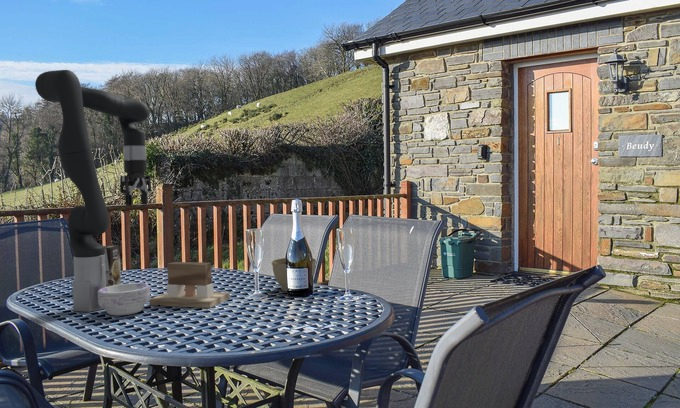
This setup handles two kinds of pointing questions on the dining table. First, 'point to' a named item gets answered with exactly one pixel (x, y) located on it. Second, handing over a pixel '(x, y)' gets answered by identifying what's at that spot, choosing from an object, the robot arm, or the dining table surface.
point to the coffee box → (112, 265)
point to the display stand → (190, 296)
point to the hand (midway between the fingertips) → (136, 205)
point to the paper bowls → (124, 298)
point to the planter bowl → (284, 271)
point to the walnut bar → (189, 273)
